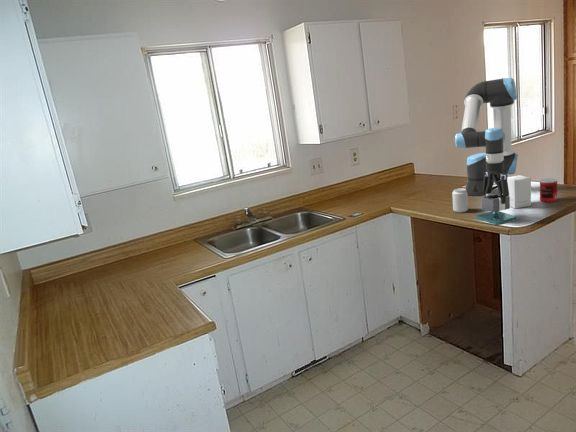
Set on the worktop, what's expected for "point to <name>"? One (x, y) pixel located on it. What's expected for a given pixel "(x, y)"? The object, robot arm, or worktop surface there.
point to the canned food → (548, 190)
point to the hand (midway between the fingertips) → (495, 208)
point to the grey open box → (494, 202)
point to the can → (460, 200)
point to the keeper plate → (496, 217)
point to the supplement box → (519, 191)
